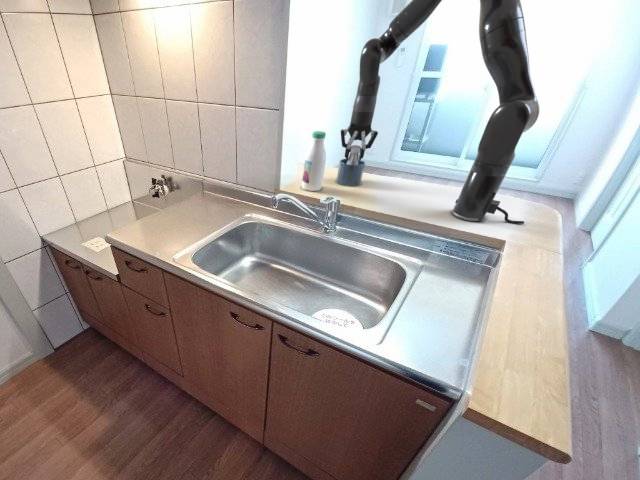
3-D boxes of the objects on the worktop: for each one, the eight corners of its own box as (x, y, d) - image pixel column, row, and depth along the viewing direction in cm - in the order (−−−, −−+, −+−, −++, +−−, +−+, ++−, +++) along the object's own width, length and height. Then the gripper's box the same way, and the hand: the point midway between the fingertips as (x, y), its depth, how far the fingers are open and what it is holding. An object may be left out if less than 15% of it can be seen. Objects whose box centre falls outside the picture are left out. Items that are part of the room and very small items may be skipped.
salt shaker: (357, 182, 130) (365, 147, 122) (343, 182, 130) (350, 147, 122) (354, 177, 135) (361, 144, 126) (340, 177, 135) (346, 144, 127)
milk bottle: (321, 185, 130) (330, 130, 117) (320, 192, 124) (330, 135, 111) (302, 184, 131) (309, 129, 118) (300, 190, 125) (307, 133, 113)
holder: (364, 181, 133) (369, 161, 128) (354, 187, 128) (358, 167, 123) (342, 176, 138) (346, 157, 133) (332, 182, 132) (335, 162, 127)
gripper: (344, 110, 115) (335, 160, 125) (386, 111, 113) (373, 162, 123) (342, 107, 120) (334, 155, 131) (382, 108, 118) (370, 157, 129)
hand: (353, 158), depth 127 cm, fingers closed on salt shaker, 4 cm apart
